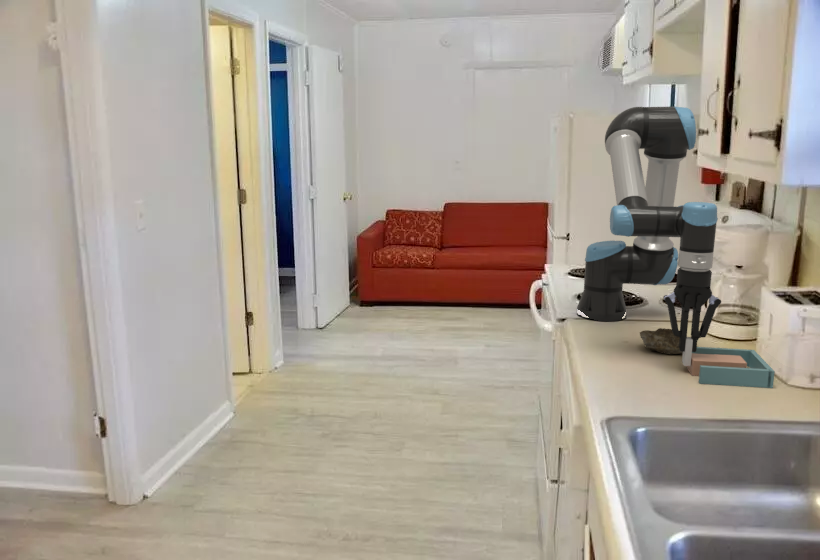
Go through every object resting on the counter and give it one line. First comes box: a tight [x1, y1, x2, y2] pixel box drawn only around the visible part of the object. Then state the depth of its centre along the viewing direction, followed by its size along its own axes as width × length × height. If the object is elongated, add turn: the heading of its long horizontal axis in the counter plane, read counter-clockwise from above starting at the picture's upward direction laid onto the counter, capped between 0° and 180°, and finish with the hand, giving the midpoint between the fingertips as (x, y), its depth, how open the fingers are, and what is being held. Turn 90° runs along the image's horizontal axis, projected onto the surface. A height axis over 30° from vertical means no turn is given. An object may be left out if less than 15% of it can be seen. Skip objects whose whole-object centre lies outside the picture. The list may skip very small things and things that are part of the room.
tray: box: [692, 346, 775, 389], centre depth 172 cm, size 16×16×4 cm
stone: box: [639, 327, 683, 355], centre depth 190 cm, size 13×8×8 cm
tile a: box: [714, 354, 748, 368], centre depth 173 cm, size 6×6×4 cm
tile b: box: [686, 353, 720, 377], centre depth 173 cm, size 6×6×4 cm
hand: (686, 364), depth 174 cm, fingers closed
